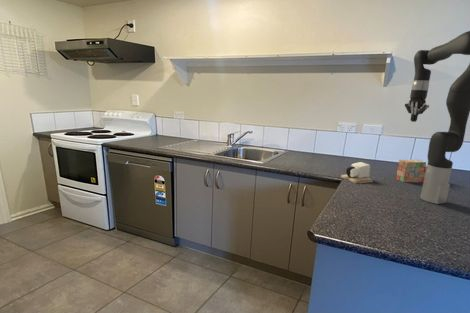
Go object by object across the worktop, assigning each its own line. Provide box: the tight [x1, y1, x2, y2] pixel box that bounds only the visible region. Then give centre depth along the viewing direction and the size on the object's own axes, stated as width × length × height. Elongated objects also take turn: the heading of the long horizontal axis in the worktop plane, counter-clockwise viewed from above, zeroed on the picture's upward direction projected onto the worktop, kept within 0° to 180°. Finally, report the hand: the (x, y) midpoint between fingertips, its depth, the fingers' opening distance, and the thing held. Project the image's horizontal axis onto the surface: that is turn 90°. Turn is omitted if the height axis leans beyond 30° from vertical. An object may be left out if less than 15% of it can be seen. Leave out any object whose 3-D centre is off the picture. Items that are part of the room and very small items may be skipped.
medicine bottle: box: [345, 161, 371, 178], centre depth 158 cm, size 7×7×12 cm
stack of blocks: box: [395, 159, 427, 183], centre depth 160 cm, size 21×6×12 cm, turn 96°
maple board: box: [340, 174, 374, 184], centre depth 158 cm, size 12×12×1 cm
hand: (413, 121), depth 150 cm, fingers closed
